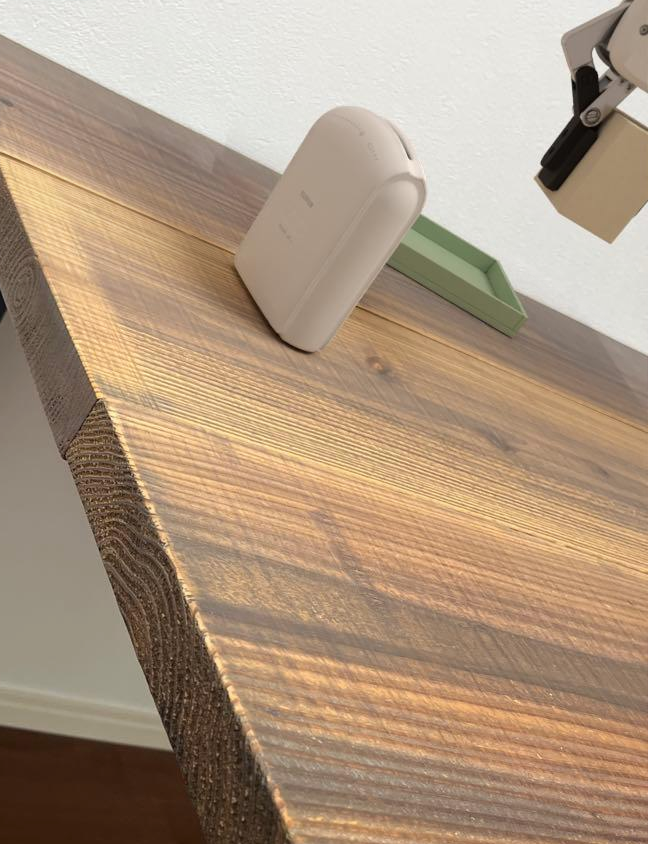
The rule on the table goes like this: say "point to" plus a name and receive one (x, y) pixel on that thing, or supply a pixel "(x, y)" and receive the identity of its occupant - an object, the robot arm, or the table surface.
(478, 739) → the table surface
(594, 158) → the block
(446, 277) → the tray
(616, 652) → the table surface
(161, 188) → the table surface
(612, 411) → the table surface
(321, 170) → the photo printer
